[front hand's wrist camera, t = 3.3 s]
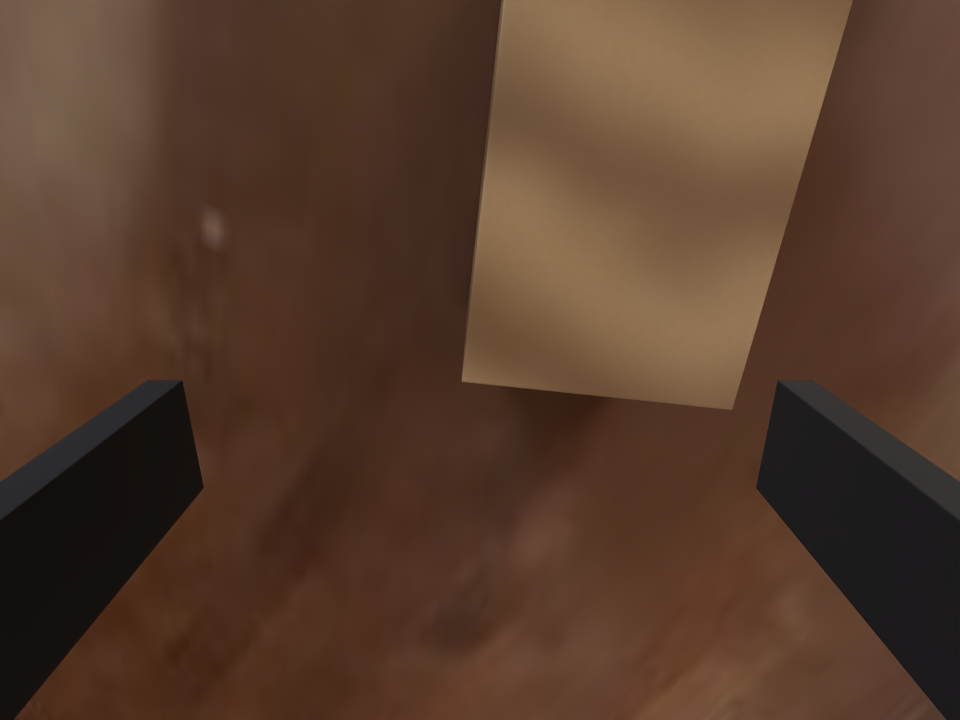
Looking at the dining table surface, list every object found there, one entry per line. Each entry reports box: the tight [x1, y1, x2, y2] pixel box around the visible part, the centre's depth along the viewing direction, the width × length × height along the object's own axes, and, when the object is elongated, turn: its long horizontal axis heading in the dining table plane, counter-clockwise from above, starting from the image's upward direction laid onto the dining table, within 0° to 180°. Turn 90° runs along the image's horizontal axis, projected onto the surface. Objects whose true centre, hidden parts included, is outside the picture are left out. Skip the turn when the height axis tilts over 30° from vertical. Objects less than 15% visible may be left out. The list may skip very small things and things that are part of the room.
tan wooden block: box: [462, 0, 853, 410], centre depth 22 cm, size 16×10×9 cm, turn 173°
